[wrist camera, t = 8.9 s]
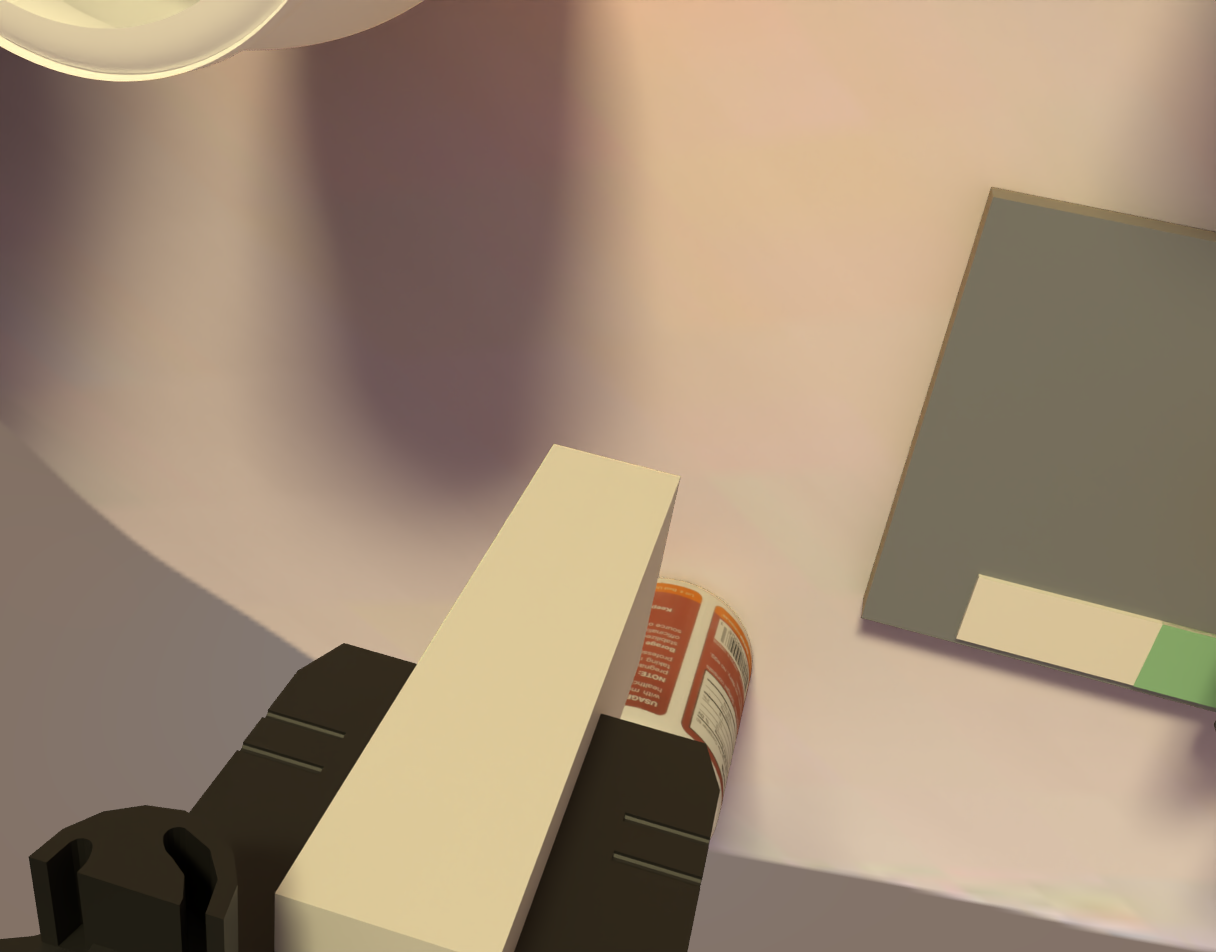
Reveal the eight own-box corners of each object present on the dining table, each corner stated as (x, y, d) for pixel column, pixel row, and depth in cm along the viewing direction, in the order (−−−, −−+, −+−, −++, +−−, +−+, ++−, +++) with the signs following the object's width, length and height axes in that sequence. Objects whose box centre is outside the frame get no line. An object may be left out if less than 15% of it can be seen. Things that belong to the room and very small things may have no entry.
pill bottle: (561, 655, 42) (451, 877, 32) (636, 540, 39) (537, 748, 29) (702, 739, 42) (634, 985, 32) (789, 630, 39) (740, 868, 29)
